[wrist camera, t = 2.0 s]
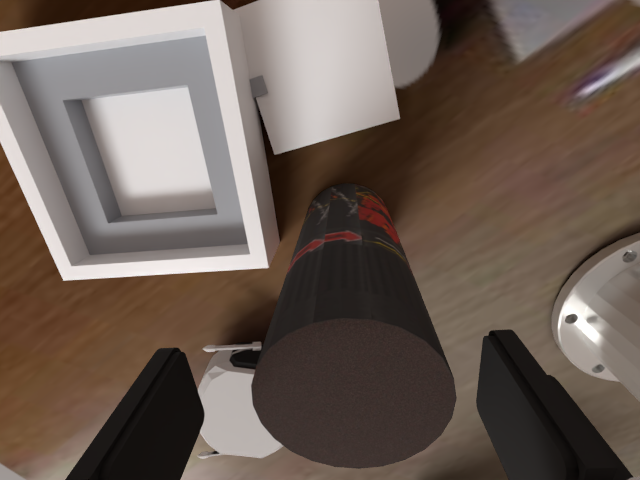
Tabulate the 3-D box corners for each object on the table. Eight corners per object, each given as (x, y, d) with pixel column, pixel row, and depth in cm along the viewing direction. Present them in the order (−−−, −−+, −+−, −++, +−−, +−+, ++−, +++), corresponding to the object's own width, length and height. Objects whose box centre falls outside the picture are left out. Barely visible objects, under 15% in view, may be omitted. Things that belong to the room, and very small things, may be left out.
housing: (243, 18, 19) (219, -1, 15) (279, 242, 24) (268, 267, 21) (23, 50, 20) (-47, 38, 17) (103, 254, 26) (63, 280, 22)
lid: (369, -36, 18) (370, -44, 17) (398, 118, 21) (400, 118, 20) (206, 24, 19) (200, 20, 18) (254, 159, 22) (250, 162, 21)
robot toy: (388, 338, 28) (211, 313, 27) (400, 380, 24) (192, 353, 23) (356, 435, 33) (205, 417, 32) (362, 483, 29) (188, 465, 28)
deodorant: (292, 201, 23) (215, 351, 9) (374, 170, 22) (424, 289, 8) (323, 272, 25) (298, 481, 11) (400, 247, 24) (476, 448, 10)
